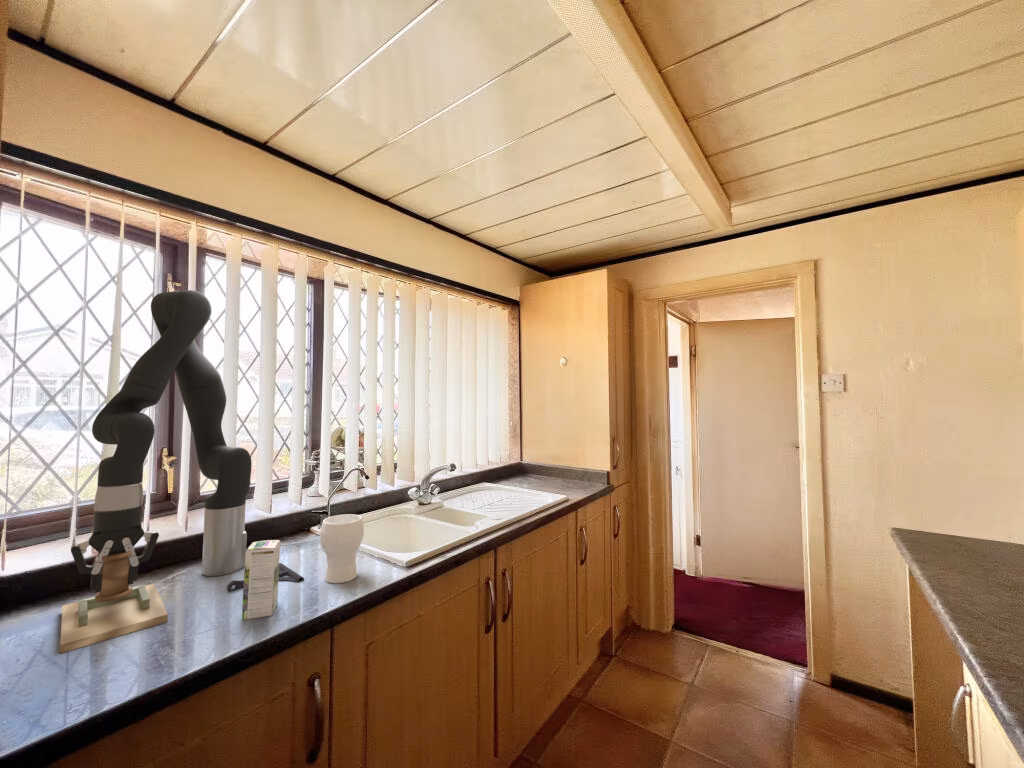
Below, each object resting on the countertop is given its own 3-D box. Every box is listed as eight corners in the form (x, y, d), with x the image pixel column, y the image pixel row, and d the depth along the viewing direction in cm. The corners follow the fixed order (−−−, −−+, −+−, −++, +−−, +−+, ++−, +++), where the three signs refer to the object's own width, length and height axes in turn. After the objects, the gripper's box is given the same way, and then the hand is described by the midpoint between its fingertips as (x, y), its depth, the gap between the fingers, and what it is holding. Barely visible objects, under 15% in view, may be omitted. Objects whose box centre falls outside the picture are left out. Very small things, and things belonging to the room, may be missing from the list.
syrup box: (248, 608, 91) (250, 541, 91) (278, 603, 93) (280, 538, 93) (241, 621, 85) (243, 550, 86) (273, 615, 87) (275, 546, 88)
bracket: (218, 585, 103) (219, 574, 103) (282, 568, 114) (282, 557, 114) (236, 604, 94) (237, 592, 94) (304, 583, 105) (304, 572, 105)
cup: (309, 582, 103) (310, 522, 104) (338, 567, 114) (340, 512, 114) (344, 588, 100) (345, 526, 101) (371, 571, 110) (372, 515, 111)
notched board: (153, 589, 99) (154, 575, 99) (167, 621, 85) (168, 604, 85) (62, 612, 88) (63, 596, 88) (59, 653, 74) (60, 633, 74)
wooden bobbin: (130, 587, 91) (133, 545, 91) (133, 595, 87) (135, 552, 87) (94, 595, 86) (97, 552, 87) (95, 604, 83) (98, 559, 83)
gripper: (160, 497, 95) (156, 572, 94) (70, 508, 85) (64, 592, 84) (165, 502, 90) (160, 582, 89) (69, 514, 80) (63, 604, 79)
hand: (114, 586), depth 87 cm, fingers closed on wooden bobbin, 4 cm apart
